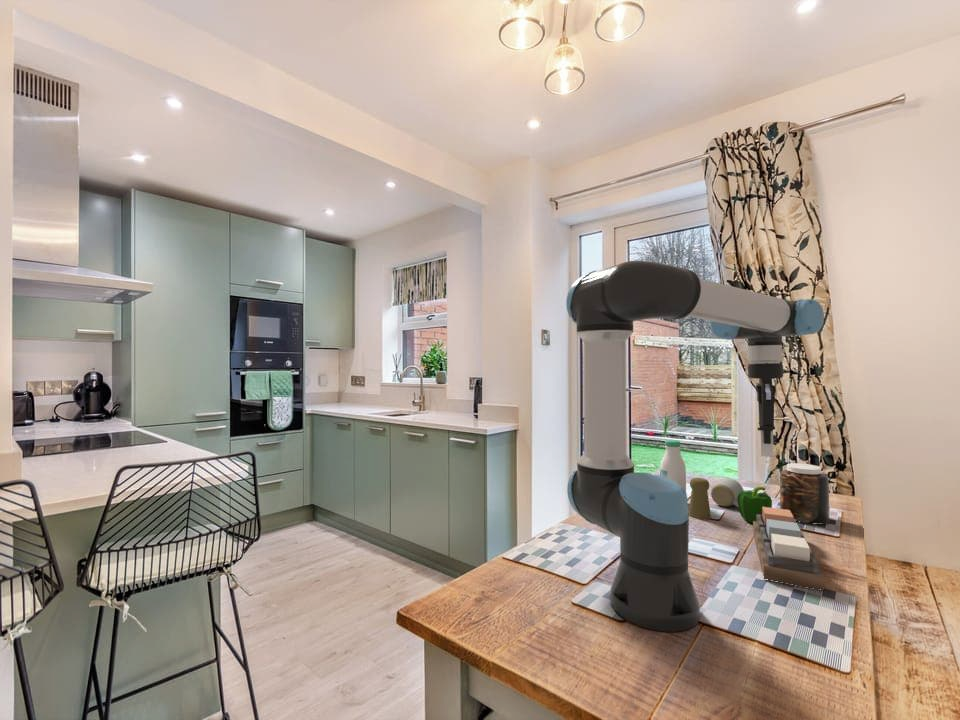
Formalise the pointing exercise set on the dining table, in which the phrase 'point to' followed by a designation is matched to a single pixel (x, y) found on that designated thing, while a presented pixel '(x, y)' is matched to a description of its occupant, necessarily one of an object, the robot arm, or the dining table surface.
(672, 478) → the milk bottle
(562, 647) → the dining table surface
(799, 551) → the cream block
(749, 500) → the bell pepper
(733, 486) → the ceramic mug
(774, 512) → the terracotta block
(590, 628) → the dining table surface
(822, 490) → the jar
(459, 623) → the dining table surface
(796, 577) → the block tray
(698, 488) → the pepper mill
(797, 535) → the slate block
